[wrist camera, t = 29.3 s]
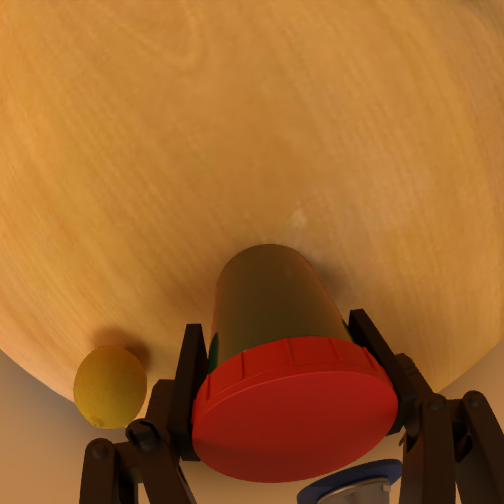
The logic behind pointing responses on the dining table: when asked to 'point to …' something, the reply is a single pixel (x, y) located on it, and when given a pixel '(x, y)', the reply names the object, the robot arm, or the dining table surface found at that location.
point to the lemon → (110, 387)
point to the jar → (270, 303)
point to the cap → (292, 410)
